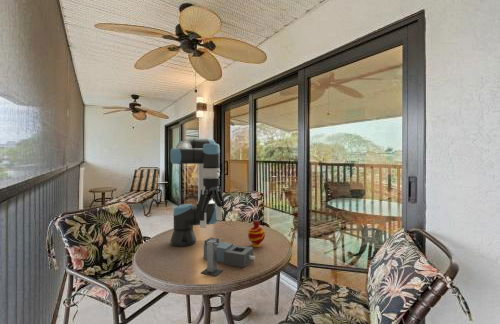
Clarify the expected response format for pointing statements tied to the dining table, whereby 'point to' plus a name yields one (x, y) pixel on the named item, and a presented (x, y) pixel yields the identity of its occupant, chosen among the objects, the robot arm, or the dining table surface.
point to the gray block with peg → (211, 256)
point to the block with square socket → (231, 253)
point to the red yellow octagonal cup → (256, 234)
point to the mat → (212, 273)
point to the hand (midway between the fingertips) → (211, 223)
